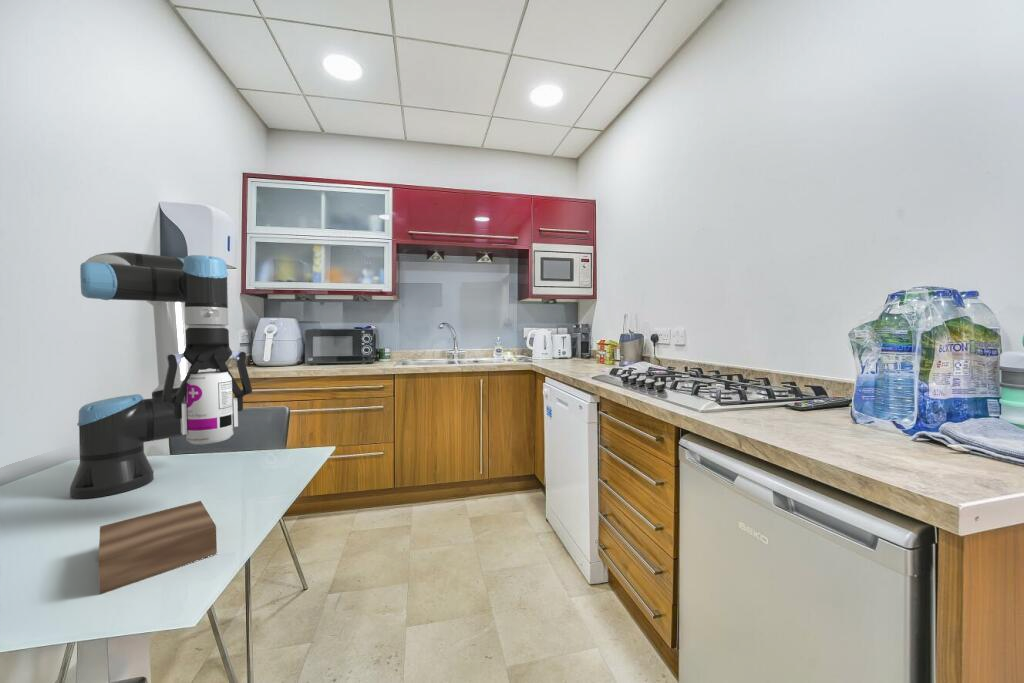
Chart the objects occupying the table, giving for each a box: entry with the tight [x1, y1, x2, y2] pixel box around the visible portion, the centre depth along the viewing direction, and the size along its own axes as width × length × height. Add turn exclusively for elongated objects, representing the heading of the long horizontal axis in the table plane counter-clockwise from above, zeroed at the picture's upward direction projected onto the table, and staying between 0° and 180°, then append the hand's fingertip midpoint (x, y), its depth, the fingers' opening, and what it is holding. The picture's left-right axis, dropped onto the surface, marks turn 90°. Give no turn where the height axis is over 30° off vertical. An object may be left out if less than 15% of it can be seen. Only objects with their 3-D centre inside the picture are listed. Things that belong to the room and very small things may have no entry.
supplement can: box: [185, 370, 234, 445], centre depth 85 cm, size 8×8×15 cm
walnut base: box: [98, 500, 218, 595], centre depth 68 cm, size 16×14×5 cm
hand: (210, 429), depth 85 cm, fingers closed on supplement can, 8 cm apart
